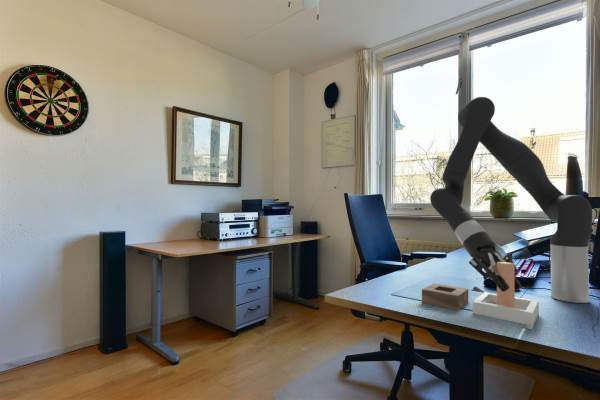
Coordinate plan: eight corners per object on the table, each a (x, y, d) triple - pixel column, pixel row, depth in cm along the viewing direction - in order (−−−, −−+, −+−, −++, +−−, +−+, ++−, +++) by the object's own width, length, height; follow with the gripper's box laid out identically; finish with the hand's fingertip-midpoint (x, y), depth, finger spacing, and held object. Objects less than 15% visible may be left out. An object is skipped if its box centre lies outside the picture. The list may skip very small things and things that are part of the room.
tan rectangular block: (498, 304, 88) (498, 261, 88) (515, 307, 85) (515, 263, 85) (495, 307, 85) (495, 263, 85) (513, 311, 82) (512, 265, 82)
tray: (484, 305, 94) (484, 292, 94) (538, 315, 85) (538, 300, 85) (472, 316, 84) (472, 301, 84) (532, 329, 76) (532, 312, 76)
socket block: (434, 299, 101) (434, 283, 101) (468, 305, 94) (468, 288, 94) (421, 306, 93) (421, 289, 93) (458, 314, 86) (458, 295, 86)
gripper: (462, 231, 90) (501, 283, 78) (499, 230, 95) (542, 279, 83) (448, 247, 95) (483, 299, 83) (484, 245, 99) (522, 294, 88)
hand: (512, 289), depth 83 cm, fingers closed on tan rectangular block, 3 cm apart
